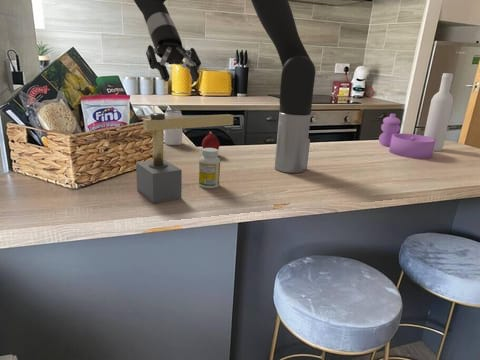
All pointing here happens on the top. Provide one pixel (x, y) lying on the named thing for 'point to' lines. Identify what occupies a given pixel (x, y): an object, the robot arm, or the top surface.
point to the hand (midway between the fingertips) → (182, 79)
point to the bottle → (440, 113)
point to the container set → (405, 141)
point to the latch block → (159, 181)
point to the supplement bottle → (209, 168)
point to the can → (173, 130)
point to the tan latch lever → (161, 123)
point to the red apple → (210, 141)
